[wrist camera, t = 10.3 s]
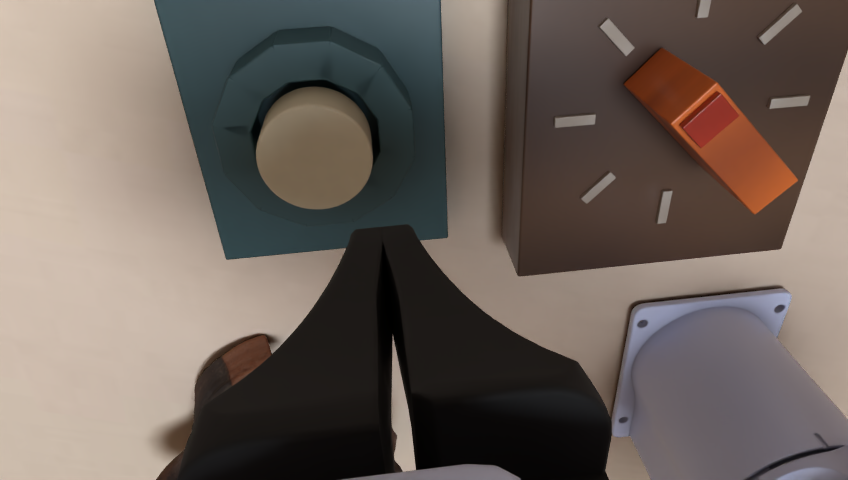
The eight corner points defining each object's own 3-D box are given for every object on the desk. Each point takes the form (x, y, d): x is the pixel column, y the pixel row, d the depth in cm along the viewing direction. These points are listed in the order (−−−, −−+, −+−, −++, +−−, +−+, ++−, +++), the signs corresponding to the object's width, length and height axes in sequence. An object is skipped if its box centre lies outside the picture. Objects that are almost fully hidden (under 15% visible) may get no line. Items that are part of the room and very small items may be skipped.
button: (375, 180, 21) (377, 205, 20) (273, 190, 21) (267, 215, 20) (365, 80, 19) (367, 100, 18) (252, 90, 19) (244, 110, 18)
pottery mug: (306, 287, 27) (390, 448, 23) (368, 351, 36) (438, 478, 31) (72, 434, 27) (115, 628, 22) (190, 465, 35) (238, 611, 30)
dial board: (741, 212, 27) (784, 252, 25) (501, 237, 26) (518, 279, 24) (836, -124, 20) (910, -119, 17) (510, -103, 19) (536, -95, 17)
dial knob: (738, 135, 21) (804, 184, 18) (700, 166, 22) (759, 219, 19) (661, 46, 19) (722, 84, 16) (622, 84, 20) (674, 127, 17)
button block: (444, 223, 26) (454, 263, 23) (230, 244, 25) (217, 287, 23) (434, -63, 20) (447, -50, 17) (153, -44, 19) (124, -28, 17)
